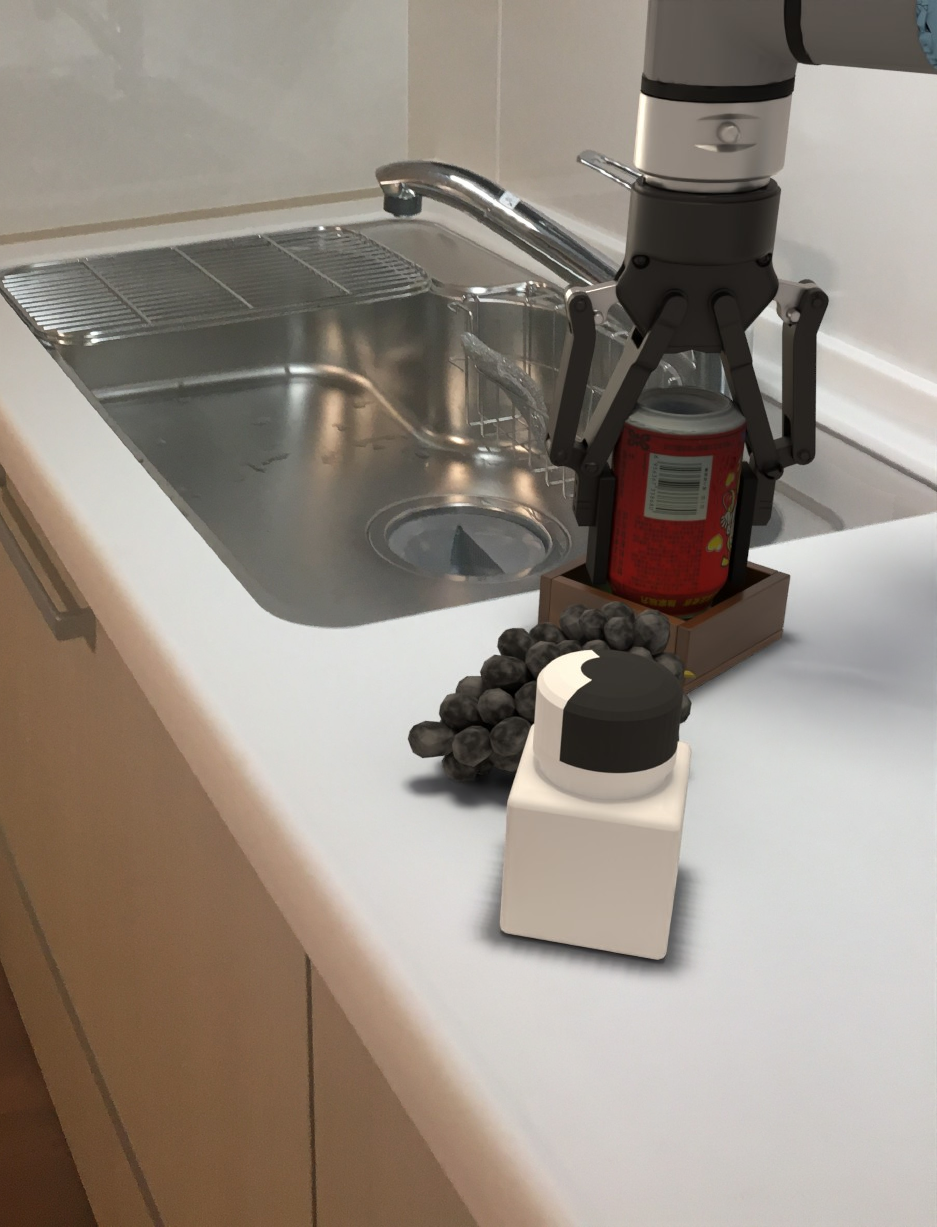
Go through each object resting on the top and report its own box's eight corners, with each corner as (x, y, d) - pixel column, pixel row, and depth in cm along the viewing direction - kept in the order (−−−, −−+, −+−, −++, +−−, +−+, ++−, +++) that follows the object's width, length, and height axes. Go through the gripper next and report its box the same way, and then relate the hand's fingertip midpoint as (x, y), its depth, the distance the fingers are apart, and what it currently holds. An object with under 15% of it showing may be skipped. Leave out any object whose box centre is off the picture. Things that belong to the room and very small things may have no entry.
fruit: (425, 647, 80) (713, 597, 82) (369, 627, 88) (633, 582, 90) (445, 823, 81) (729, 768, 84) (388, 786, 89) (648, 737, 92)
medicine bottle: (677, 872, 78) (704, 643, 73) (664, 964, 72) (692, 722, 67) (523, 848, 80) (538, 624, 75) (498, 935, 74) (512, 698, 69)
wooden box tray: (782, 637, 99) (791, 574, 97) (682, 696, 93) (690, 630, 91) (637, 586, 106) (643, 526, 104) (536, 637, 100) (540, 575, 98)
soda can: (740, 623, 95) (766, 417, 90) (615, 627, 95) (633, 422, 90) (705, 571, 101) (727, 376, 96) (588, 575, 102) (603, 381, 96)
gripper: (520, 195, 85) (496, 602, 95) (929, 188, 83) (860, 603, 93) (504, 165, 92) (483, 548, 102) (882, 157, 90) (823, 548, 100)
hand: (663, 574), depth 98 cm, fingers closed on soda can, 7 cm apart
